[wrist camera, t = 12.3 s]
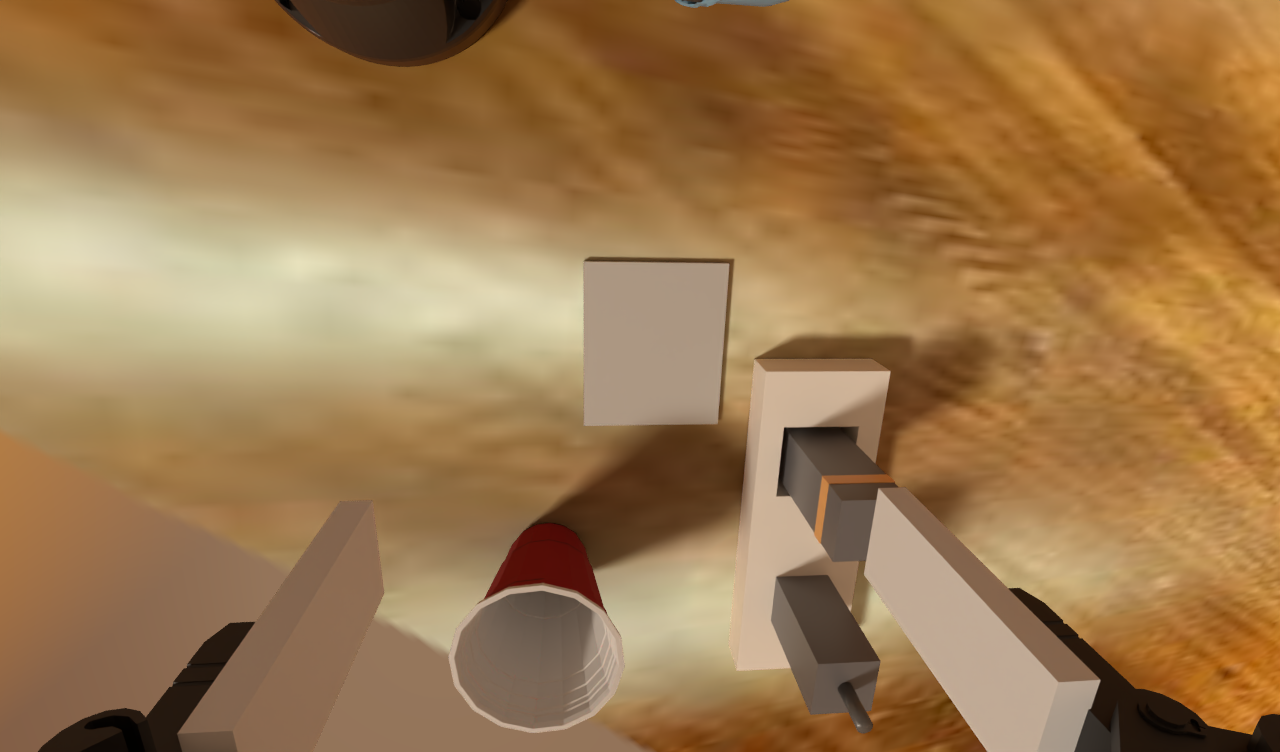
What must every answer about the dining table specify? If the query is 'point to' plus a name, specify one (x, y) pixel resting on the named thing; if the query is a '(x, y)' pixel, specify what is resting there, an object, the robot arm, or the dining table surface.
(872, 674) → the socket stand
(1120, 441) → the dining table surface
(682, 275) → the white flat slab
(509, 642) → the plastic cup
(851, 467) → the plug
